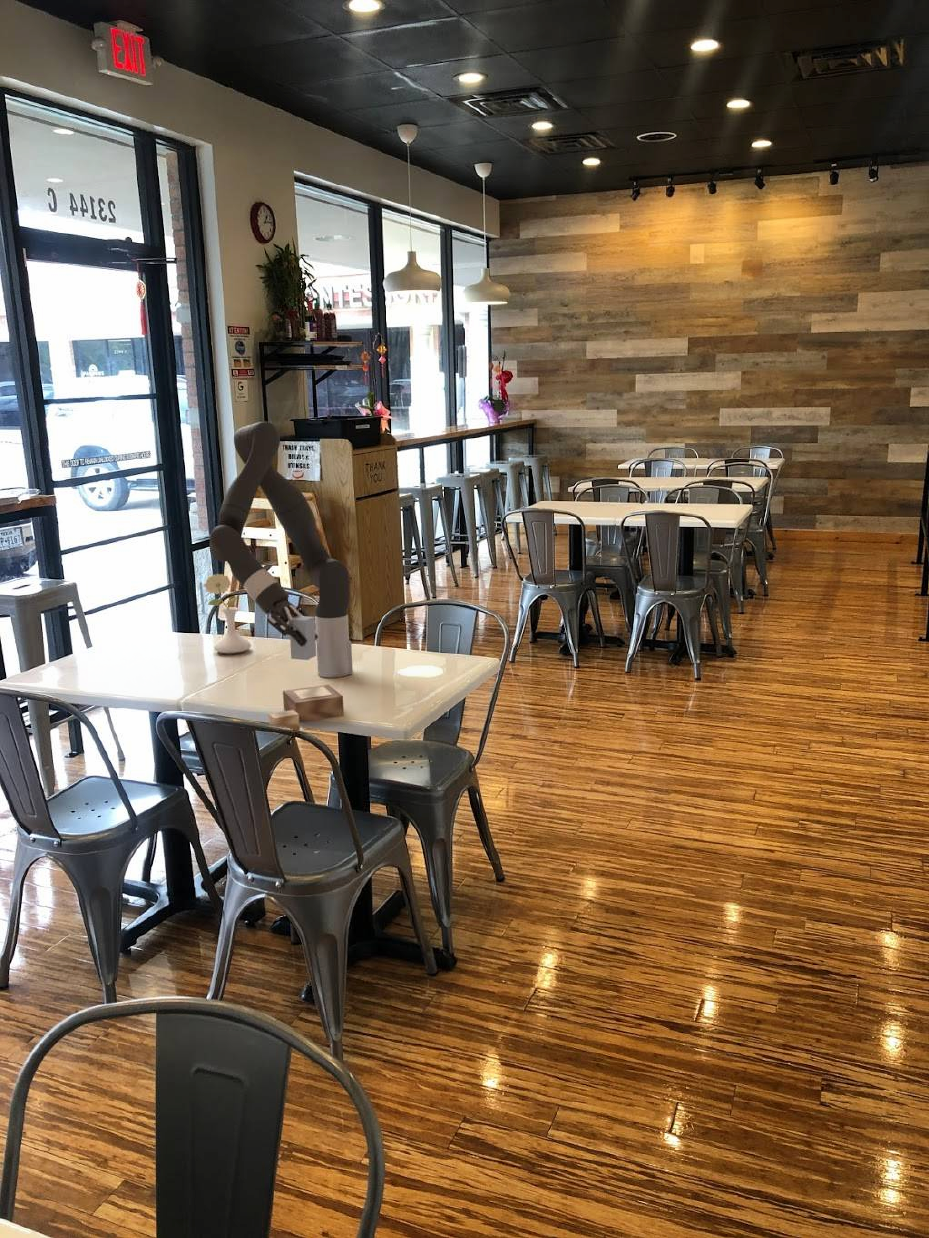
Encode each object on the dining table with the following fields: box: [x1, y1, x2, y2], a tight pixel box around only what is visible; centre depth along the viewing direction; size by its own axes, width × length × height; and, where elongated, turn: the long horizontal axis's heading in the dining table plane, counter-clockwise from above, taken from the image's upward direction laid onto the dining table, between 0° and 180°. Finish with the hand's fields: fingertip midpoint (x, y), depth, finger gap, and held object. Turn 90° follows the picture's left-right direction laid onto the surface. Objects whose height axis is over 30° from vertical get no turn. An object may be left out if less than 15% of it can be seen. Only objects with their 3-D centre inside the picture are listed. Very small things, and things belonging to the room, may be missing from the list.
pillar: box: [289, 615, 317, 661], centre depth 261 cm, size 4×4×10 cm
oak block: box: [268, 710, 301, 735], centre depth 250 cm, size 6×4×4 cm, turn 119°
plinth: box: [282, 684, 345, 723], centre depth 263 cm, size 12×12×5 cm
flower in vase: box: [203, 573, 252, 654], centre depth 327 cm, size 13×11×25 cm
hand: (309, 641), depth 260 cm, fingers closed on pillar, 4 cm apart
